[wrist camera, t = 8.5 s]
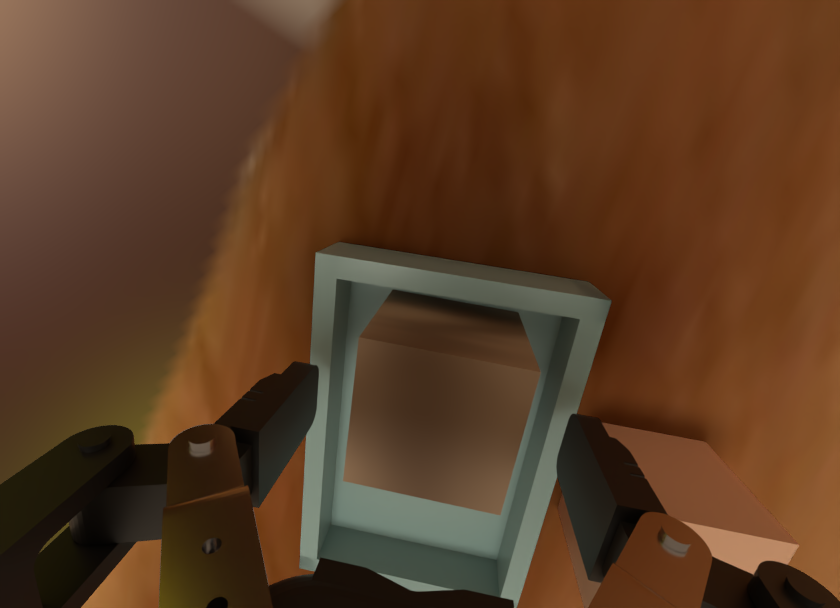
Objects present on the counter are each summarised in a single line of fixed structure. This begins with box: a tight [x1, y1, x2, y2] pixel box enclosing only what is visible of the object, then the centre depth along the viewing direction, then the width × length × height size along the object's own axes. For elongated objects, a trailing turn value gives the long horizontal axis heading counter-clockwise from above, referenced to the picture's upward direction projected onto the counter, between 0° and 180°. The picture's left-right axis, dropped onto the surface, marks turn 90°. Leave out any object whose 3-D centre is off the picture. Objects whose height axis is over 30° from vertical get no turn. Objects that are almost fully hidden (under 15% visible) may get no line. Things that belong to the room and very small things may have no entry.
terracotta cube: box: [558, 423, 799, 608], centre depth 15 cm, size 5×5×5 cm
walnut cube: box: [343, 290, 541, 515], centre depth 14 cm, size 5×5×5 cm
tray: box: [299, 242, 612, 608], centre depth 16 cm, size 10×15×2 cm, turn 172°
